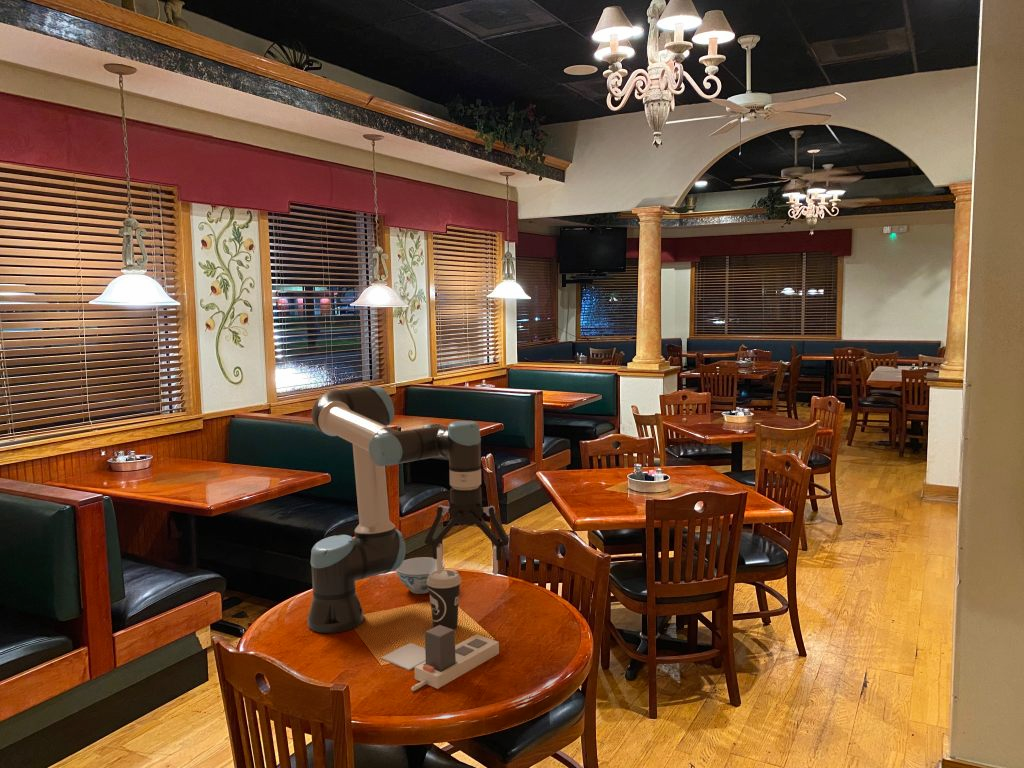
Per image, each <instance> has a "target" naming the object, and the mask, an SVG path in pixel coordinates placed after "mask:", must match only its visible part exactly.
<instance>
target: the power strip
mask: <svg viewBox="0 0 1024 768" xmlns="http://www.w3.org/2000/svg"><path fill="white" fill-rule="evenodd" d="M499 654H500V642H499V641H497V640H495V639H491V638H489V637H485V636H482V635H480V634H475V635H473V636H470V637H468V638H466V639H464V640H463V641H461V642H460V643H458V644H455V657H456V664H455V665H453V666H451V667H449V668H448V669H446V670H444V671H442V672H439V671H437V670H434V667H432V666H430V665H427V664H426V661H425V662H423V663H421V664H419V665H417V666H416V667H415V668H414V680H416V681H419V683H416V684H414V685H413V686H412V687H411V691H412V692H415V691H417V690H419V689H420V688H422V687H424V686H425V685H428V686H430V687H432V688H435V689H437V690H438V689H440V688H441V687H443V686H446V685H447V684H449V683H450V682H452V681H454V680H455V679H458V678H459V677H461V676H462V675H464V674H466V673H468V672H470V671H472V670H474V668H476V667H479V666H480V665H482V664H483V663H485V662H487V661H489V660H491V659H492V658H494V657H495V656H497V655H499Z"/></svg>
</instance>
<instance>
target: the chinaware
mask: <svg viewBox="0 0 1024 768" xmlns="http://www.w3.org/2000/svg"><path fill="white" fill-rule="evenodd" d="M443 569H445V562H444V561H443ZM436 570H437V559H433V557H430V556H429V557H427V556H425V557H424V556H423V557H420V556H419V557H413V558H408V559H404V560H403V562H402V564H401V565H400V567H399V568H397V569H396V570H395V572H396V575H397V577H398V580H399V581H400V582H401V583H402V584H403V585H404V586H405V587H406V588H407V589H409V591H410V592H411V593H412V594H415V595H417V594H418V595H419V594H421V595H423V594H427V593H429V587H428V585H427V584H426V582H427V578H428V577H429V574H430V573H431V572H433V571H436Z"/></svg>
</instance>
